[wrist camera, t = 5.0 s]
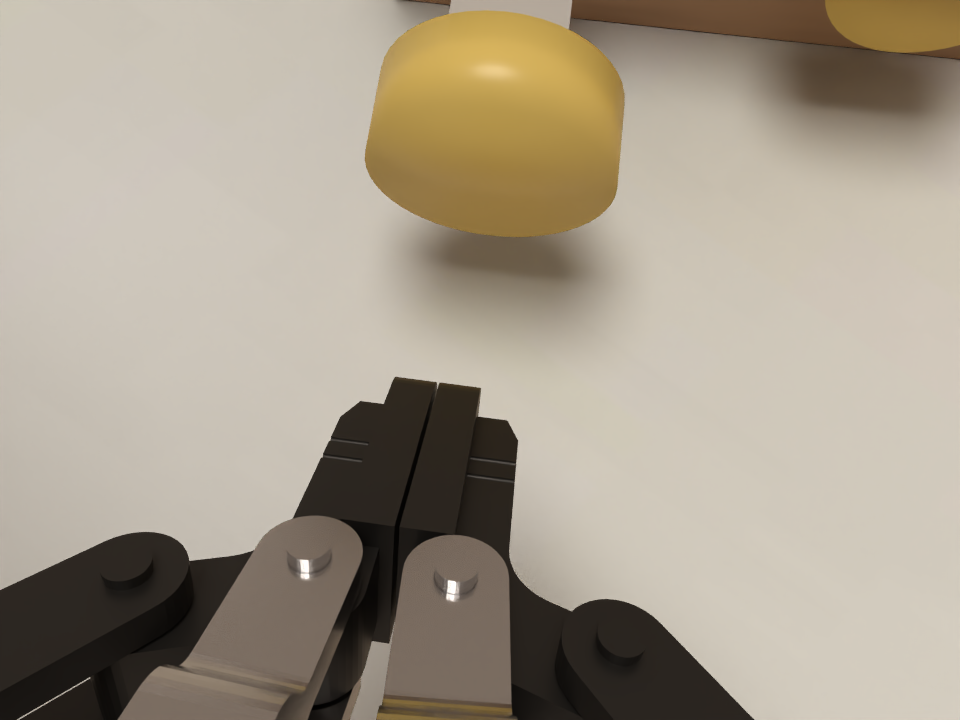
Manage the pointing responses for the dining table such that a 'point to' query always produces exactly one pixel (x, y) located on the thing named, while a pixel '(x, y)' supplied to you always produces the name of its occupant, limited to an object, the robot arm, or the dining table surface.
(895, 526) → the dining table surface
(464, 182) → the knob
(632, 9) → the block
